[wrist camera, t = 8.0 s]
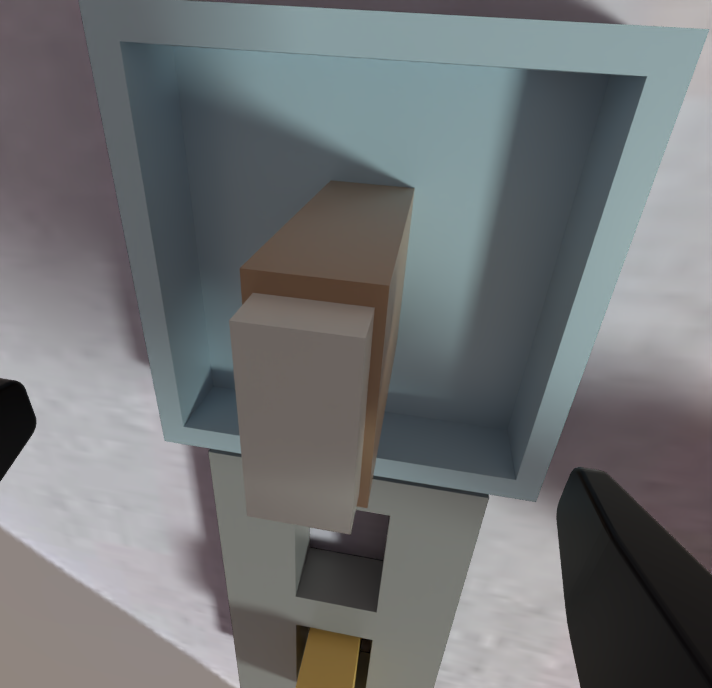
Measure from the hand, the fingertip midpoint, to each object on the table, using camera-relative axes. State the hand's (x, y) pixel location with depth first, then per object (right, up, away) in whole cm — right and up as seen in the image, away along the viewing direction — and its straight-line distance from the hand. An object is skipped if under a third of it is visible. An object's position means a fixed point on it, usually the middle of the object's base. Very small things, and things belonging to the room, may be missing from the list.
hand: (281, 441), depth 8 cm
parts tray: (+2, +4, +7) cm, 9 cm away
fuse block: (+1, -9, +16) cm, 18 cm away
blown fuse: (+1, +4, +7) cm, 8 cm away
